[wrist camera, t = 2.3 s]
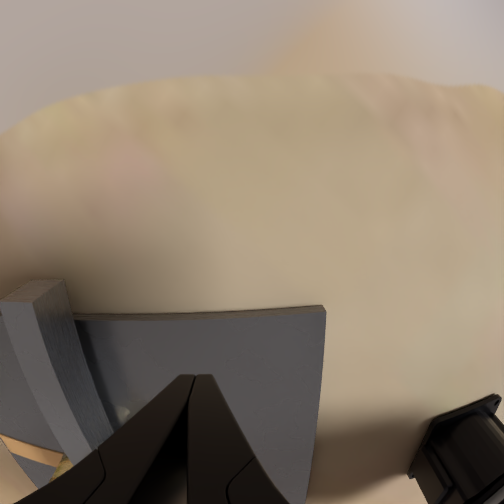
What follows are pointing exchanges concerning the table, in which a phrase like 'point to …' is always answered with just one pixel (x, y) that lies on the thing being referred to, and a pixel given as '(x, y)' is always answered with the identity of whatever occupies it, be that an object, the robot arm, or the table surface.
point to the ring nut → (56, 367)
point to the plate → (194, 362)
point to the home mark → (32, 451)
